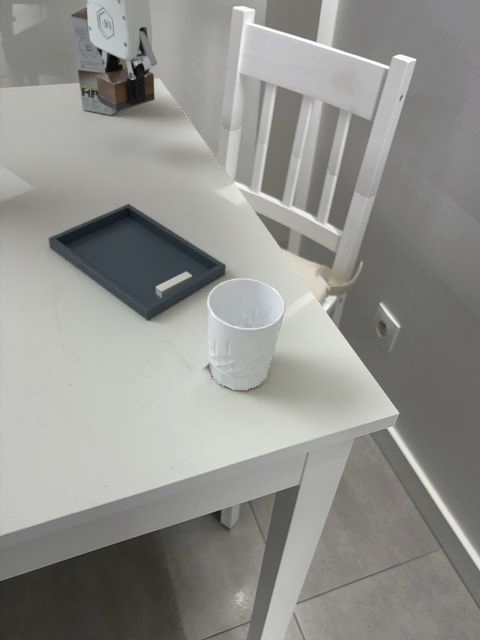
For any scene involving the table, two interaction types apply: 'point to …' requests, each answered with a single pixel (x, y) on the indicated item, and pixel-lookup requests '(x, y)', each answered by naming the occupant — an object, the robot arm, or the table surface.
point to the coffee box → (88, 65)
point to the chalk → (173, 284)
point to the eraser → (120, 89)
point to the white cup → (243, 331)
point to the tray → (136, 259)
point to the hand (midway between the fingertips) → (126, 95)
